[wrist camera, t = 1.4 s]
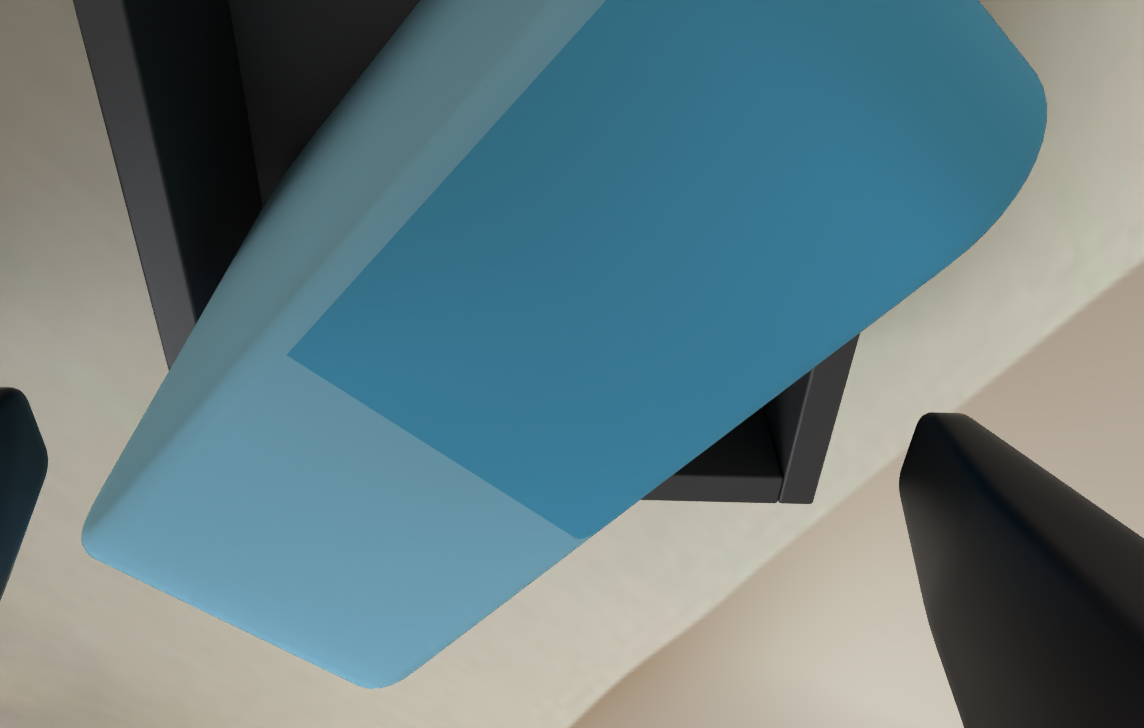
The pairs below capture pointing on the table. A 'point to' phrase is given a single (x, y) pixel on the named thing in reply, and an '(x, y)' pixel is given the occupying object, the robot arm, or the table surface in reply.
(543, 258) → the data package
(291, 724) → the table surface
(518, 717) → the table surface
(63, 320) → the table surface
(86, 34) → the black box
